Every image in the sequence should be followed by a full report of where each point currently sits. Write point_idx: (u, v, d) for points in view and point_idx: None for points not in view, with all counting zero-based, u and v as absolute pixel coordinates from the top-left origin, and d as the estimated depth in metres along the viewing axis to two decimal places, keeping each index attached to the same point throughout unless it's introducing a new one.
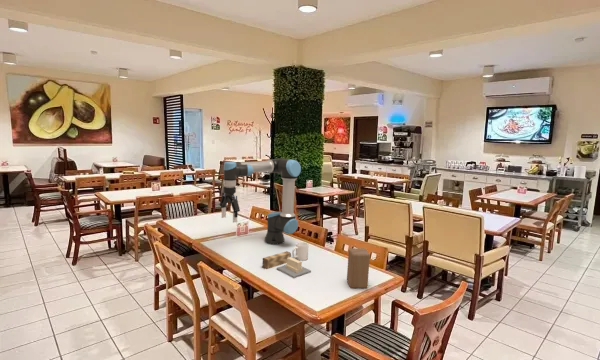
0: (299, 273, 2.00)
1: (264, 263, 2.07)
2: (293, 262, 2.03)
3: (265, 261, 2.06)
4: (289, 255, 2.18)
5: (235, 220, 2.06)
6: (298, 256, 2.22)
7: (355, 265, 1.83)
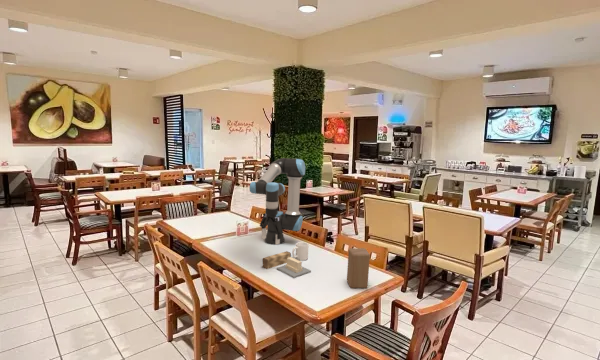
0: (299, 273, 2.00)
1: (264, 263, 2.07)
2: (293, 262, 2.03)
3: (265, 261, 2.06)
4: (289, 255, 2.18)
5: (278, 242, 2.03)
6: (298, 256, 2.22)
7: (355, 265, 1.83)
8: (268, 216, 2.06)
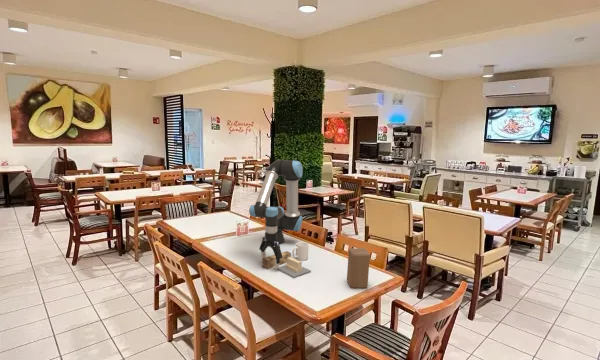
0: (299, 273, 2.00)
1: (264, 263, 2.07)
2: (293, 262, 2.03)
3: (265, 261, 2.06)
4: (289, 255, 2.18)
5: (277, 266, 2.05)
6: (298, 256, 2.22)
7: (355, 265, 1.83)
8: (267, 240, 2.08)
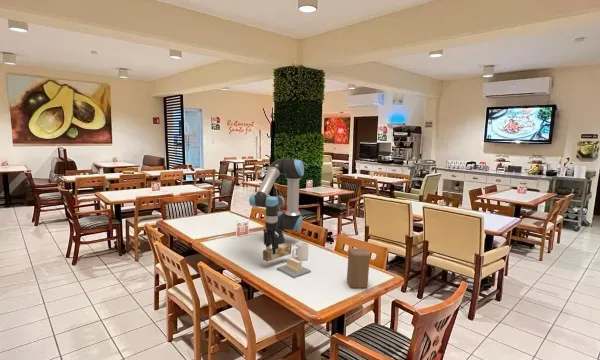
0: (299, 273, 2.00)
1: (264, 256, 2.07)
2: (293, 262, 2.03)
3: (265, 253, 2.06)
4: (289, 247, 2.18)
5: (273, 257, 2.08)
6: (298, 256, 2.22)
7: (355, 265, 1.83)
8: (268, 228, 2.08)
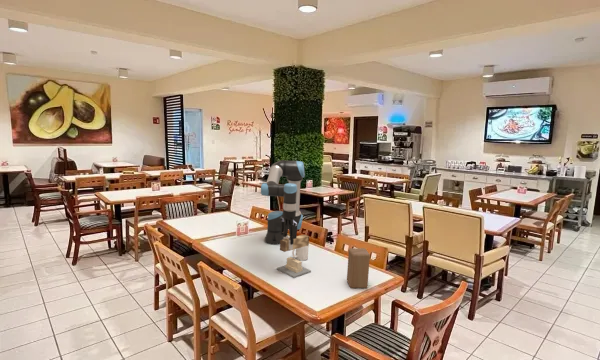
0: (299, 273, 2.00)
1: (281, 246, 1.96)
2: (293, 262, 2.03)
3: (283, 243, 1.95)
4: (307, 238, 2.07)
5: (291, 247, 1.97)
6: (298, 256, 2.22)
7: (355, 265, 1.83)
8: (285, 217, 1.97)
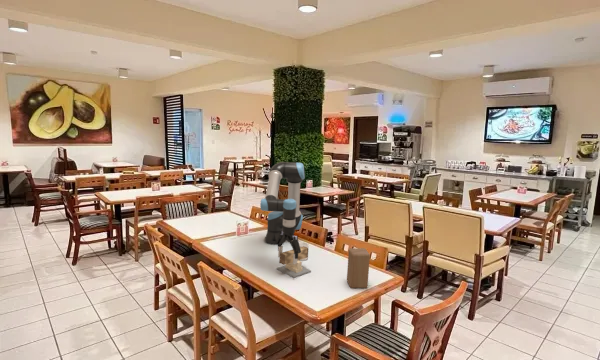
0: (299, 273, 2.00)
1: (281, 259, 1.97)
2: None
3: (282, 256, 1.96)
4: (306, 250, 2.08)
5: (295, 261, 1.95)
6: None
7: (355, 265, 1.83)
8: (285, 234, 1.99)
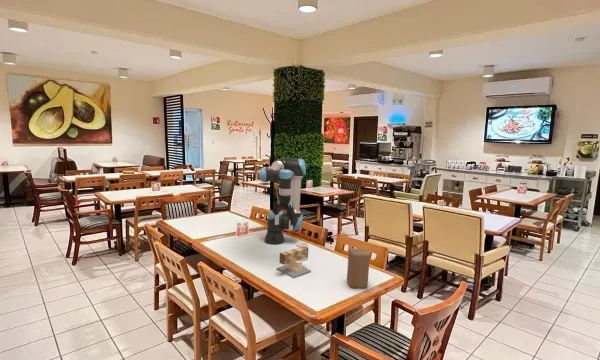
0: (299, 273, 2.00)
1: (281, 259, 1.97)
2: (293, 262, 2.03)
3: (282, 256, 1.96)
4: (306, 250, 2.08)
5: (291, 228, 2.07)
6: None
7: (355, 265, 1.83)
8: (281, 203, 2.10)
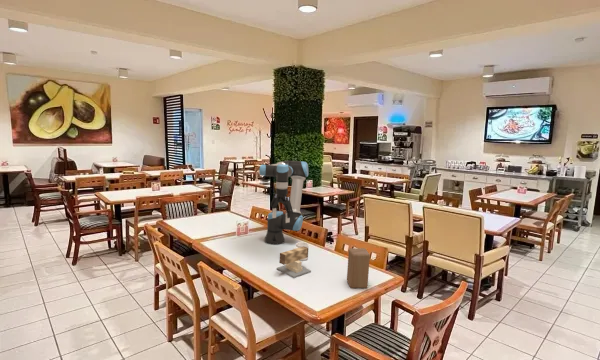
0: (299, 273, 2.00)
1: (281, 259, 1.97)
2: (293, 262, 2.03)
3: (282, 256, 1.96)
4: (306, 250, 2.08)
5: (288, 220, 2.14)
6: None
7: (355, 265, 1.83)
8: (278, 196, 2.18)
